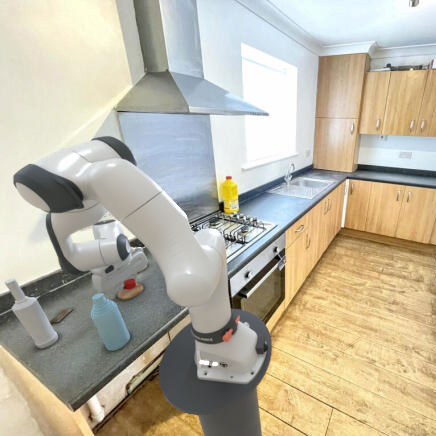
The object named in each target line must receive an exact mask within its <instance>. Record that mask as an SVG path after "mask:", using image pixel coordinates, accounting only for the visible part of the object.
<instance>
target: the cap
mask: <svg viewBox="0 0 436 436" xmlns="http://www.w3.org/2000/svg"><path fill="white" fill-rule="evenodd" d="M136 284H137V282H135V279H131V278H127V279H125V280H124V281H123V286H125V289H126V290H130V289H133V288H135V287H136Z"/></svg>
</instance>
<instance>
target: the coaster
mask: <svg viewBox="0 0 436 436" xmlns="http://www.w3.org/2000/svg"><path fill="white" fill-rule="evenodd" d="M143 290H144V286H143V284H141V283H139V282H136V287H135V288H133V289H130V290H126V289H125V290H124V291H120V290H119V291H118V292H117V298H118V299H119V300H129V299H132V298H135V297H137V296H138V295H140V294H141V293H142V292H143Z"/></svg>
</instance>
